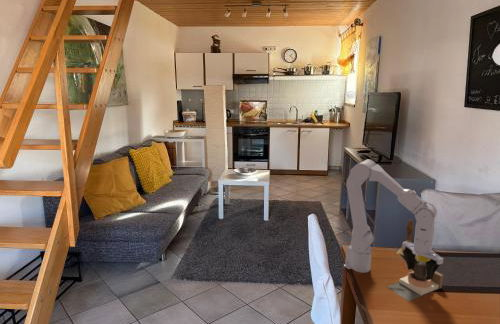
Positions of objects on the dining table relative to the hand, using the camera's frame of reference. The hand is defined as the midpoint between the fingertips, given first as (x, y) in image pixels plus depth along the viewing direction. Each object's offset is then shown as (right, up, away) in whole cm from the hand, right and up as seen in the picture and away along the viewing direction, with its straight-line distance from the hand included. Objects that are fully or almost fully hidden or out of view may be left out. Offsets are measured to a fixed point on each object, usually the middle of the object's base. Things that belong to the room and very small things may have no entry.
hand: (419, 273), depth 121 cm
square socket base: (0, -5, +1) cm, 5 cm away
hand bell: (+7, -1, +25) cm, 26 cm away
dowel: (0, -3, +1) cm, 3 cm away
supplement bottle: (+9, -3, +15) cm, 18 cm away
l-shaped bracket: (-2, -6, 0) cm, 6 cm away
